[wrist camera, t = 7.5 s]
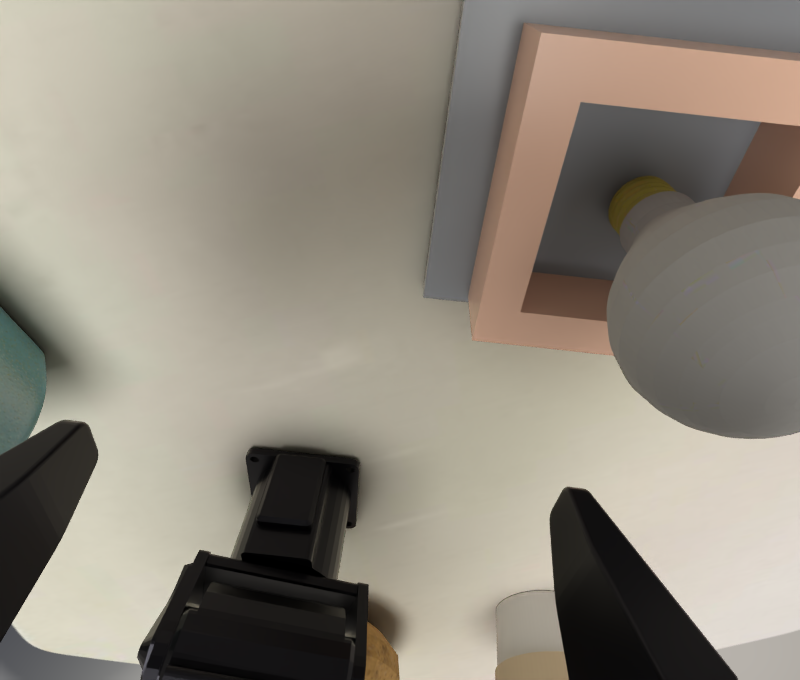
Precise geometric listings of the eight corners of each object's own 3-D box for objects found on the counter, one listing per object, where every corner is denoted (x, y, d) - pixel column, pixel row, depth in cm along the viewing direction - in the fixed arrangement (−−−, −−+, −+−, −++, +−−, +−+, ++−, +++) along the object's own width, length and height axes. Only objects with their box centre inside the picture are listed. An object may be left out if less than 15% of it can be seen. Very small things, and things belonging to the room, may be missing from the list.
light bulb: (740, 104, 15) (1080, 260, 7) (697, 260, 18) (897, 486, 10) (559, 125, 16) (685, 290, 8) (549, 272, 19) (631, 493, 11)
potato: (308, 656, 46) (287, 765, 40) (272, 582, 38) (238, 706, 31) (410, 660, 45) (406, 773, 39) (397, 584, 37) (388, 713, 30)
